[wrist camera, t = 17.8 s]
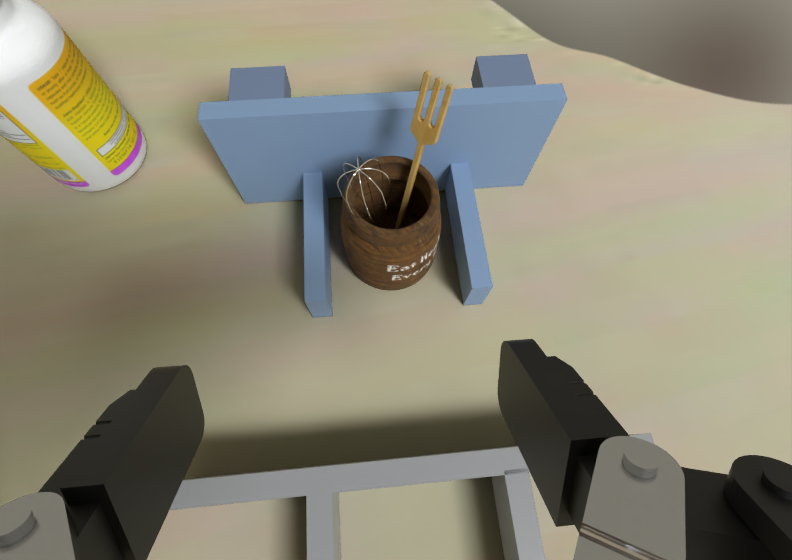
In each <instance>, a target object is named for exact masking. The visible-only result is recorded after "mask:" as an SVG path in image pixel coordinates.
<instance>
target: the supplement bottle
mask: <svg viewBox="0 0 792 560" xmlns="http://www.w3.org/2000/svg"><path fill="white" fill-rule="evenodd" d="M0 135H1V136H2V137H4V138H5V139H6V140H7V141H9V142H10V143H11V144H12V145H13V146H15V147H16V148H17V149H18V150H20V151H21V152H22V153H23V154H24V155H26V156H27V157H28V158H29V159H31V160H32V161H33V162H35V163H36V164H37V165H38V166H39V167H41V168H42V169H43V170H44V171H46V172H47V173H48V174H49V175H51V176H52V177H53V178H55V179H56V180H57V181H59V182H60V183H62V184H63V185H65V186H67V187H69V188H71V189H75V190H78V191H86V192H94V191H101V190H105V189H109V188H112V187H114V186H117V185H119V184H121V183H123V182H124V181H126V180H127V179H129V178H130V177H131V176H132V175H133V174H134V173H135V172H136V171H137V170H138V169H139V167H140V166H141V164H142V163H143V160H144V158H145V155H146V148H147V146H146V140H145V137H144V134H143V132H142V131H141V129H140V128H139V126H138V125H137V124H136V122H135V121H134V120H133V118H132V117H131V116H130V114H129V113H128V112H127V111H126V109H125V108H124V107H123V106H122V104H121V103H120V102H119V100H118V99H117V98H116V96H115V95H114V94H113V93H112V91H111V90H110V89H109V87H108V86H107V85H106V84H105V82H104V81H103V80H102V79H101V77H100V76H99V75H98V74H97V72H96V71H95V70H94V68H93V67H92V66H91V65H90V63H89V62H88V61H87V59H86V58H85V57H84V56H83V54H82V53H81V52H80V50H79V49H78V48H77V47H76V45H75V44H74V43H73V42H72V40H71V39H70V38H69V36H68V35H67V34H66V33H65V31H64V30H63V29H62V28H61V26H60V25H59V24H58V23H57V21H56V20H55V19H54V18H53V17H52V15H51V14H50V13H49V12H48V11H46V10H45V9H44V8H43V7H41V6H40V5H38V4H37V3H35V2H34V1H32V0H0Z"/></svg>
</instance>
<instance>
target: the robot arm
mask: <svg viewBox="0 0 792 560" xmlns="http://www.w3.org/2000/svg"><path fill="white" fill-rule="evenodd" d="M498 400H499V405H500V409H501V412H502V414H503V417H504V419H505V421H506V423H507V425H508V427H509V429H510V431H511V433H512V435H513V437H514V440H515V442H516V444H517V446H518V448H519V450H520V452H521V454H522V456H523V458H524V460H525V463H526V465H527V467H528V469H529V471H530V473H531V475H532V477H533V479H534V481H535V483H536V486H537V488H538V490H539V492H540V494H541V496H542V498H543V500H544V502H545V504H546V506H547V509H548V511H549V513H550V515H551V517H552V519H553V521H554V523H555V525H556V527H558V526H567V525H575V526H576V528H577V530H578V532H579V537H578V541H577V546H576V550H575V555H574V559H573V560H792V465H790V464H787V463H785V462H782V461H779V460H776V459H773V458H769V457H765V456H758V455H747V456H742V457H739V458H737V459H736V460H735V461H734V462H733V464H732V466H731V469H730V472H729V474H728V475H727V474H720V473H714V472H708V471H702V470H695V469H689V468H684V467H680V465H679V464H678V463H677V461H676V460H675V459H674V458H673V457H672V456H671V455H670V454H668V453H667V452H666V451H664V450H663V449H662V448H660V447H658V446H657V445H655V444H652V443H650V442H648V441H645V440H643V439H639V438H636V437H630V436H629V435H628V433H627V432H626V431H625V430H624V429H623V427H622V426H621V425H620V424H619V423H618V421H617V420H616V419H615V418H614V417H613V415H612V414H611V413H610V412H609V411H608V409H607V408H606V407H605V406H604V405H603V403H602V402H601V401H600V400H599V399H598V397H597V396H596V395H593V391H592V390H591V389H590V388H589V387H588V385H587V384H586V383H585V384H584V381H583V379H582V378H581V377H580V376H579V374H578V373H577V372H576V371H575V370H574V368H573V367H571V366H570V365H568V364H567V363H565V362H563V361H562V360H560V359H559V358H557V357H556V356H551V357H547V356H546V355H545V354H544V352H543V351H542V350H541V348H540V347H539V346H538V344H537V343H536V342H535V341H534V340H533V339H524V340H511V341H504V342H503V343H502V346H501V354H500V367H499V380H498ZM203 432H204V414H203V410H202V406H201V403H200V399H199V395H198V392H197V388H196V384H195V381H194V377H193V373H192V371H191V369H190V367H189V366H187V365H182V366H170V367H157V368H153V369H152V370H151V371H150V372H149V373H148V375H147V376H146V377H145V379H144V380H143V381H142V382H141V384H140V385H139V386H138V388H137V389H136V390H130V391H128V392H127V393H126V394H124V395H123V396H121V397H120V398H119V399H117V400H116V401H115V402H113V403H112V404H110V405H109V406H108V408H107V409H106V410H105V411H104V413H103V414H102V415H101V416H100V417H99V419H98V420H97V421H96V425H93V426H92V427H91V428H90V430H89V431H88V432H87V433H86V435H85V436H84V440H81V441H80V442H79V443H78V444H77V446H76V447H75V448H74V449H73V450H72V452H71V453H70V454H69V455H68V457H67V458H66V459H65V460H64V461H63V463H62V464H61V465H60V466H59V468H58V469H57V470H56V471H55V472H54V474H53V475H52V476H51V477H50V478H49V480H48V481H47V482H46V483H45V485H44V486H43V487H42V488H41V489H40V491H39V492H38V493H34V494H30V495H26V496H23V497H21V498H18V499H16V500H13V501H11V502H9V503H7V504H5V505H3V506H2V507H0V560H146V559H147V557H148V555H149V553H150V551H151V548H152V546H153V544H154V542H155V540H156V538H157V535H158V533H159V531H160V529H161V527H162V524H163V522H164V520H165V518H166V516H167V514H168V511H169V509H170V507H171V505H172V503H173V501H174V498H175V496H176V494H177V492H178V490H179V487H180V485H181V483H182V481H183V479H184V477H185V474H186V472H187V470H188V468H189V466H190V464H191V461H192V459H193V457H194V455H195V453H196V451H197V448H198V446H199V444H200V442H201V439H202V436H203Z"/></svg>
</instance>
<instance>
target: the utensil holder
mask: <svg viewBox="0 0 792 560" xmlns="http://www.w3.org/2000/svg"><path fill="white" fill-rule="evenodd" d="M430 76H431V74H430V72H429V71H426V72H424V75H423V79H422V83H421V87H420V91H419V95H418V99H417V103H416V107H415V111H414V114H413V118H412V122H411V126H410V130H411V132H412V134H413V135H414V137H415V138H416V140H417V147H416V151H415V155H414V159H413V160H411V159H408V158H405V157H401V156H382V157H377V158H374V159H369V160H367V161H366V162H365V163H362V161H361V158H360V156H358V157H359V158H360V161H361V164H362V165H360V166H359V164H358V157H357V165H358V168H357V167H355V166H353V165H351V164H349V163H344V164H343V169H344V165H345V164H348V165H351V166H353V167H355V168H356V169H355V170H351V171H348V172H345V169H344V172H345V173H344V174H343V175H345V174H346V177H347V173H349V172H352V171H354V172H353V173H352V174H351V175H350V177H349V178H348V177H347V179H348V180H347V183H346V185H345V189H344V194H343V195H342V193H341V190H340V188H339V185H338V182H339V180H340V178H341V177H342V176H343V175H341V176H340V178H339V179H338V182H337V185H338V188H339V190H340V193H341V195H342V197H343V208H342V213H341V232H342V238H343V243H344V248H345V252H346V256H347V259H348V262H349V264H350V266H351V268H352V270H353V271H354V273H355V274H356V275H357V276H358V277H359V278H360V279H361V280H362V281H363V282H365V283H366V284H368V285H370V286H372V287H375V288H378V289H382V290H399V289H404V288H407V287H409V286H411V285H413V284H415V283H416V282H418V281H419V280H420V279H421V278H422V277H423V276H424V275H425V274H426V273H427V271H428V270H429V268H430V266H431V264H432V262H433V260H434V257H435V253H436V249H437V245H438V241H439V237H440V232H441V213H440V196H439V189H438V186H437V183H436V181H435V179H434V177H433V176H432V175H431V173H430V172H429V171H428V170H427V169H426V168H425V167H424V166H422V165H421V164H419V163H420V160H421V156H422V153H423V149H424V146H425V145H434V144H435V143H436V142H437V141H438V139H439V135H440V132H441V129H442V125H443V122H444V119H445V115H446V112H447V109H448V105H449V102H450V99H451V95H452V92H453V85H451V84H449V85H447V87H446V90H445V94H444V97H443V100H442V103H441V106H440V110H439V113H438V116H437V119H436V123H435V126H434V125H432V122H431V121H432V117H433V114H434V110H435V106H436V102H437V99H438V95H439V91H440V88H441V84H442V80H441V78H439V77H438V78H436V79H435V83H434V86H433V90H432V93H431V97H430V100H429V104H428V107H427V111H426V114H425V118H424V119H422V117H421V114H422V109H423V105H424V101H425V97H426V93H427V89H428V84H429V80H430Z"/></svg>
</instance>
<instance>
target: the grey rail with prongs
mask: <svg viewBox="0 0 792 560" xmlns="http://www.w3.org/2000/svg"><path fill="white" fill-rule="evenodd" d="M629 436H630V437H636V438H639V439H643V440H645V441H648V442H650V443H652V444H654V442H653V439H652V436H651V433H648V434H632V435H629ZM529 472H530V471H529V469H528V467H527V465H526V463H525V460H524V458H523V456H522V454H521V452H520V450H519V448H518V446H509V447H499V448H489V449H479V450H469V451H459V452H449V453H439V454H429V455H419V456H409V457H399V458H390V459H380V460H370V461H360V462H350V463H340V464H330V465H320V466H310V467H300V468H290V469H281V470H271V471H261V472H251V473H241V474H231V475H221V476H211V477H201V478H192V479H185V480H183V481H182V483H181V485H180V487H179V490H178V492H177V494H176V496H175V498H174V501H173V503H172V505H171V507H170V509H169V510H175V509H185V508H194V507H204V506H213V505H223V504H233V503H242V502H252V501H261V500H271V499H280V498H290V497H299V496H306V514H307V560H341V544H340V516H339V492H347V491H357V490H366V489H376V488H385V487H395V486H405V485H414V484H424V483H433V482H443V481H452V480H462V479H471V478H481V477H491V479H492V485H493V491H494V497H495V503H496V509H497V515H498V522H499V528H500V534H501V540H502V546H503V552H504V559H505V560H546V559H545V553H544V548H543V543H542V538H541V533H540V528H539V522H538V517H537V512H536V507H535V502H534V497H533V492H532V486H531V481H530V476H529Z"/></svg>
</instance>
